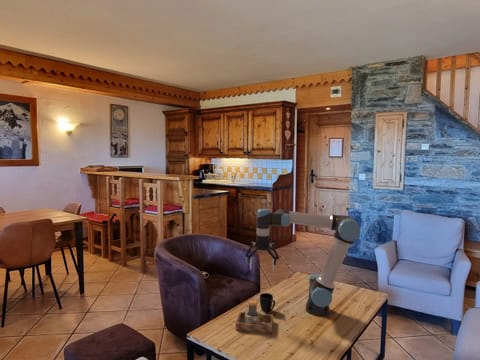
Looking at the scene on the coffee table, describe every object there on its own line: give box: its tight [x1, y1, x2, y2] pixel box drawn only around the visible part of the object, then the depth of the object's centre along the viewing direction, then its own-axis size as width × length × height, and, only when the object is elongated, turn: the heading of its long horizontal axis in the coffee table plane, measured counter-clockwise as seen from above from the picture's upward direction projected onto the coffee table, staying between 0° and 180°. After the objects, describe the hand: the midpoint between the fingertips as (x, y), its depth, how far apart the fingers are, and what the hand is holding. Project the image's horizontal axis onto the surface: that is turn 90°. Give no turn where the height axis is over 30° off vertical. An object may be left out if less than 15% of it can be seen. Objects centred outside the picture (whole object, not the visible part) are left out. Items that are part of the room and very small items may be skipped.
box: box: [235, 309, 274, 335], centre depth 186 cm, size 20×14×7 cm
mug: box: [259, 292, 276, 313], centre depth 204 cm, size 8×12×10 cm
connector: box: [248, 299, 258, 316], centre depth 186 cm, size 4×4×11 cm
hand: (261, 269), depth 197 cm, fingers open, 13 cm apart
